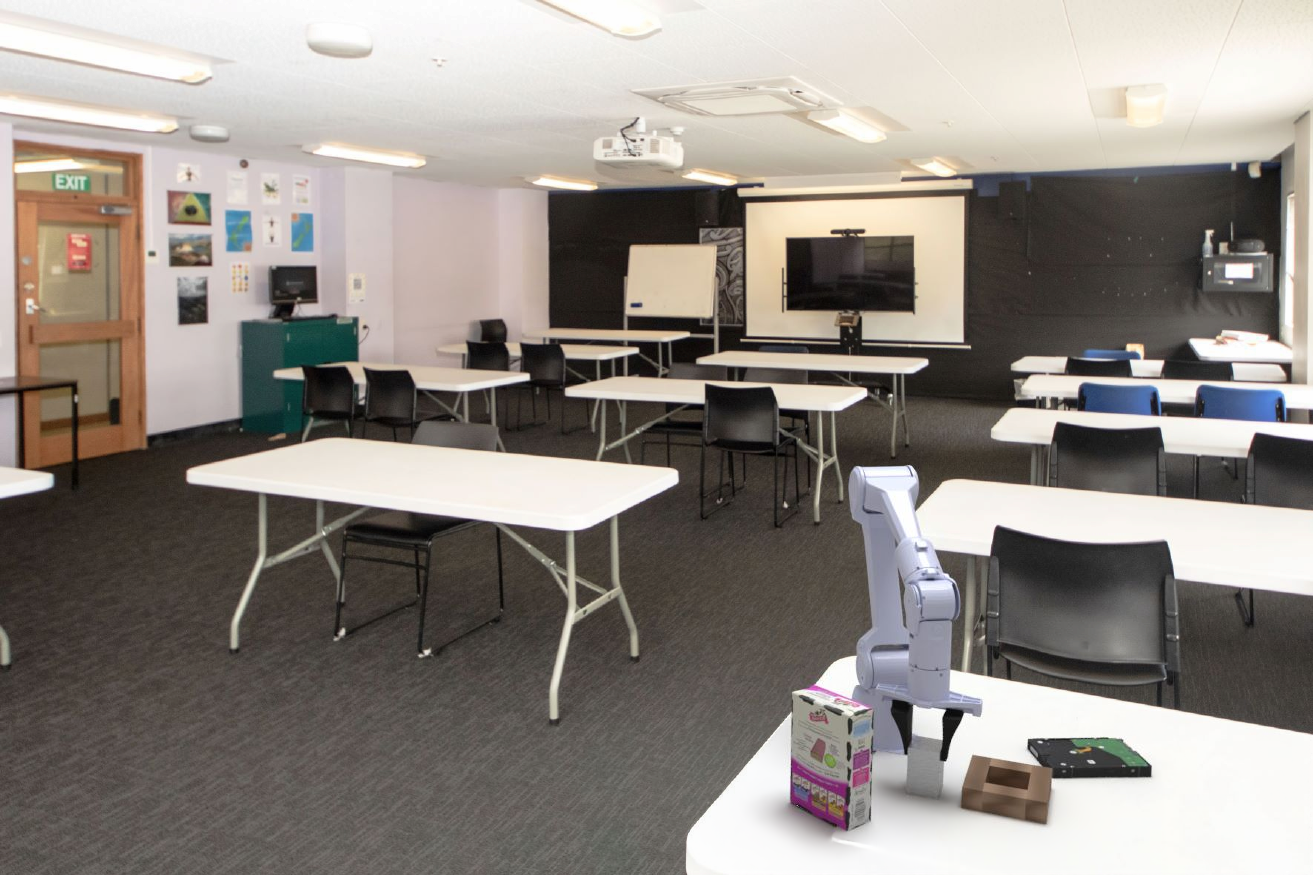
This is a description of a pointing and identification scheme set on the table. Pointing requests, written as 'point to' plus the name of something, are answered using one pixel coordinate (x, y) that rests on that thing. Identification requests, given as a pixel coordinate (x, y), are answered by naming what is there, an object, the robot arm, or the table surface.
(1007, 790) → the pocket block
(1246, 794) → the table surface
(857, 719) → the candy bar box
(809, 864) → the table surface
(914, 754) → the steel block
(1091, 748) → the disk drive
